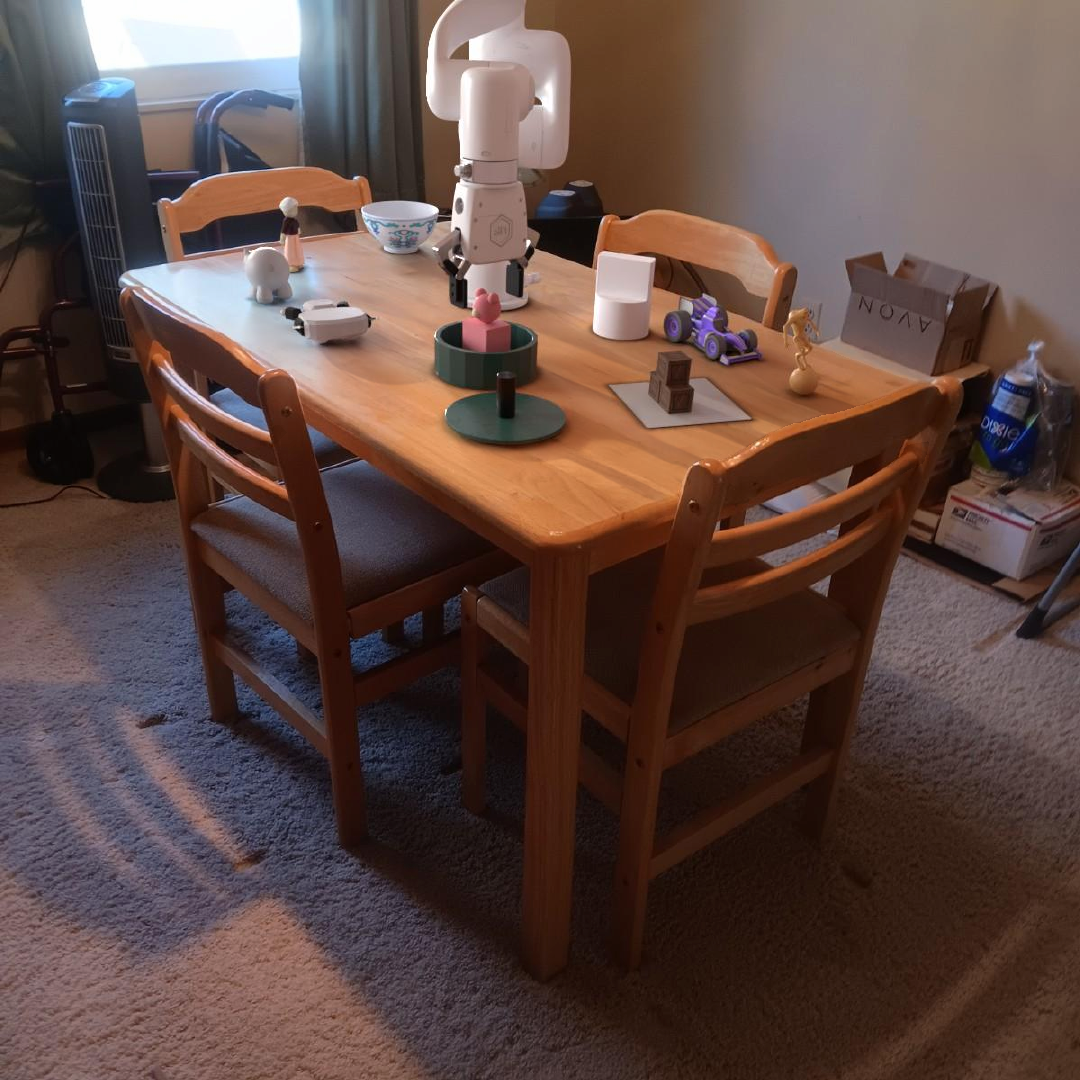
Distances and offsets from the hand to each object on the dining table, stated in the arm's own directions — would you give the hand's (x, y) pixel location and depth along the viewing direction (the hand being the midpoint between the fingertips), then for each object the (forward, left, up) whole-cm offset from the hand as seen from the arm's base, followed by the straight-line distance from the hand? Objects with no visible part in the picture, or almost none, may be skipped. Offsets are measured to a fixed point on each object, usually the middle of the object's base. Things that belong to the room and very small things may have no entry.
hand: (487, 300), depth 140 cm
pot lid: (+9, +16, -10) cm, 21 cm away
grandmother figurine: (-2, -61, -11) cm, 62 cm away
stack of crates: (-15, +24, -11) cm, 30 cm away
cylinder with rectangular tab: (-29, -2, -11) cm, 31 cm away
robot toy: (+11, -26, -11) cm, 30 cm away
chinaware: (-26, -62, -11) cm, 68 cm away
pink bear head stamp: (0, 0, -10) cm, 10 cm away
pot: (0, 0, -11) cm, 11 cm away
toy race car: (-36, +12, -11) cm, 40 cm away
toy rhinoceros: (+10, -49, -11) cm, 51 cm away
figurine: (-32, +31, -11) cm, 46 cm away
